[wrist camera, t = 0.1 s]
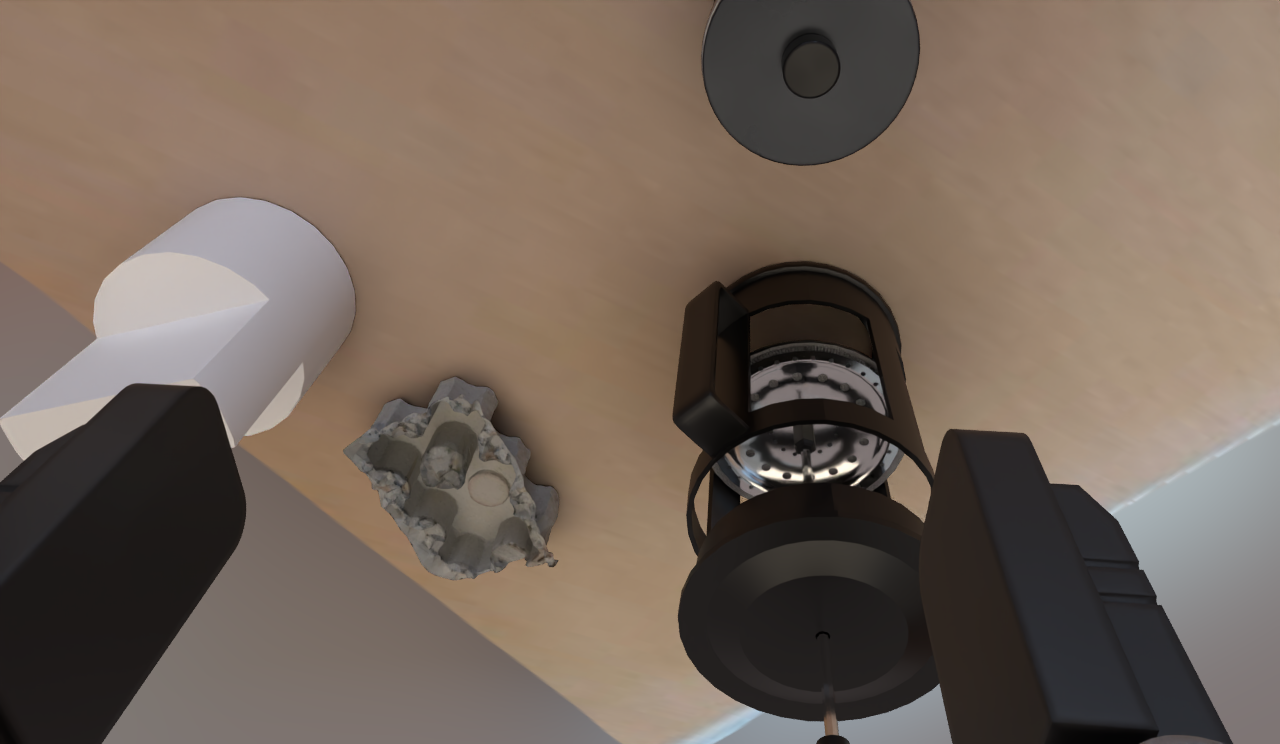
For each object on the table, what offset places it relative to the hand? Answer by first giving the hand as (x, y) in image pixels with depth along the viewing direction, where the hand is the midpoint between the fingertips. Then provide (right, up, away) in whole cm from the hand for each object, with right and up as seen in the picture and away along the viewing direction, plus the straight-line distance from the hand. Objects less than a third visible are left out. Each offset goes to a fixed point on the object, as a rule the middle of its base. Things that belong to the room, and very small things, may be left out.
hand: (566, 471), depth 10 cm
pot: (+7, +15, +24) cm, 30 cm away
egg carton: (-8, -4, +38) cm, 39 cm away
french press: (+8, +2, +32) cm, 33 cm away
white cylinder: (-17, +5, +33) cm, 38 cm away
